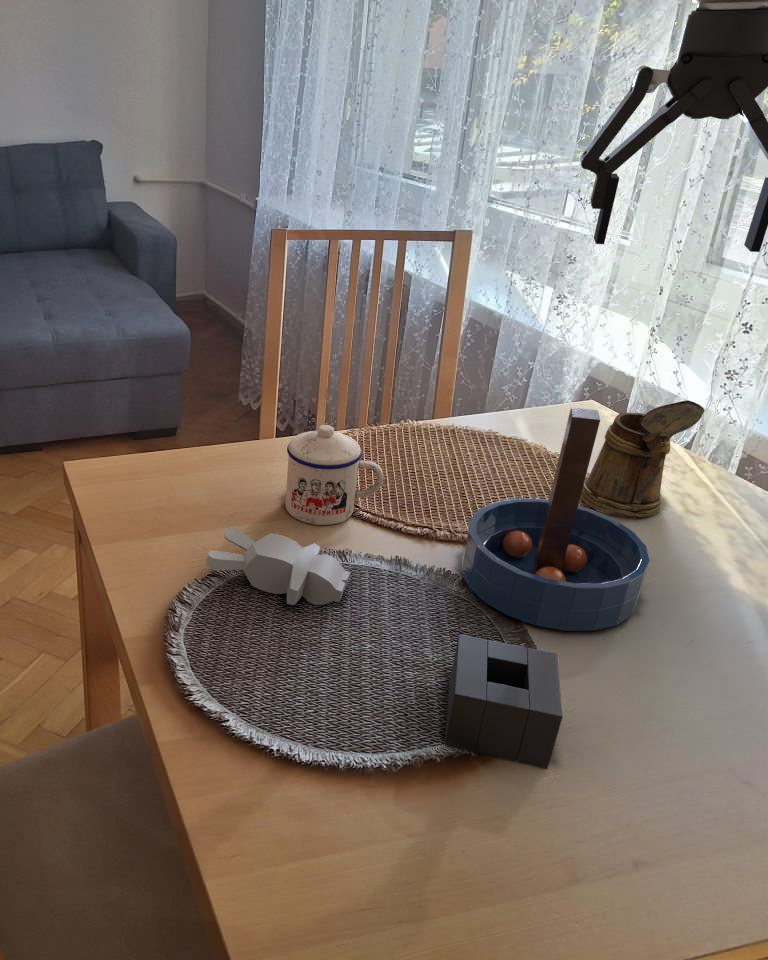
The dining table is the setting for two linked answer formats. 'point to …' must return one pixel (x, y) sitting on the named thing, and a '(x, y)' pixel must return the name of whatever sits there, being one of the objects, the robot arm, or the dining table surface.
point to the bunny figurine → (283, 567)
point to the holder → (504, 701)
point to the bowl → (557, 604)
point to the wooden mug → (636, 460)
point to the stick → (567, 487)
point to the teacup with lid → (325, 476)
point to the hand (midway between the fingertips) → (673, 245)
